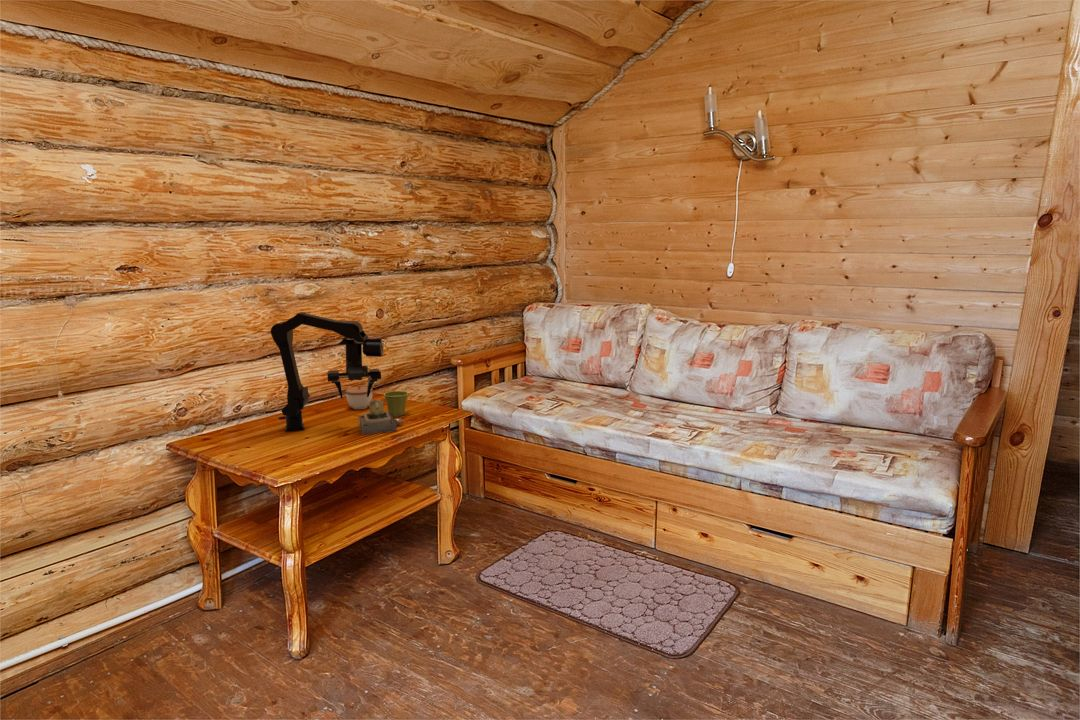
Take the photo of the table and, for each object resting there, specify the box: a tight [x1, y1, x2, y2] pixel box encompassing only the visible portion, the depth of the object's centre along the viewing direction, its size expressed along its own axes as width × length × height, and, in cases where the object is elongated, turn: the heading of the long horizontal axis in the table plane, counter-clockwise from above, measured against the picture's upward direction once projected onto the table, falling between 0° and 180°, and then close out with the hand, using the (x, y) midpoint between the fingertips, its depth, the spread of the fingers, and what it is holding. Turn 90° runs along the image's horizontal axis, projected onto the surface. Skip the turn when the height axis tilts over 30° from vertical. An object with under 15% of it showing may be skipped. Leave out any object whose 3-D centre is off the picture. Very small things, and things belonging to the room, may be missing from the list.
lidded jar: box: [345, 384, 374, 410], centre depth 265 cm, size 11×11×9 cm
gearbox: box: [358, 411, 403, 436], centre depth 238 cm, size 14×15×4 cm
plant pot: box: [383, 390, 409, 418], centre depth 254 cm, size 9×9×9 cm
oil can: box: [368, 398, 385, 419], centre depth 236 cm, size 7×5×8 cm
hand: (354, 397), depth 236 cm, fingers open, 9 cm apart
